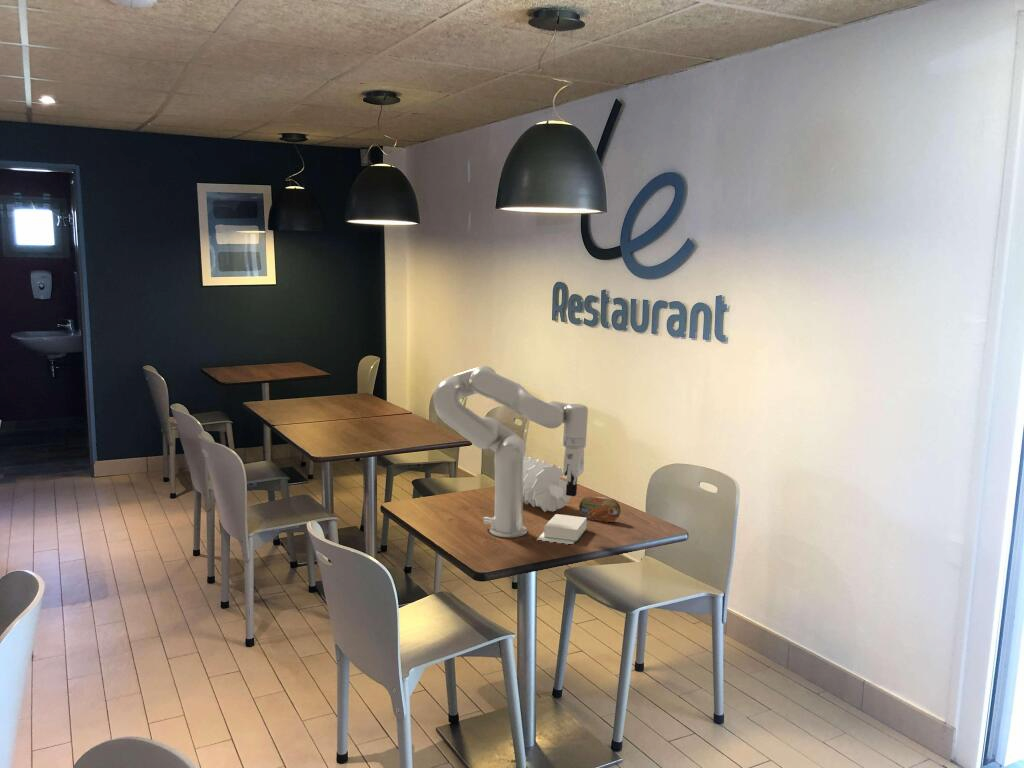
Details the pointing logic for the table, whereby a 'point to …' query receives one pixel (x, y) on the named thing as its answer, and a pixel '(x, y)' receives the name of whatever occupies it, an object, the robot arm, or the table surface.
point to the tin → (599, 508)
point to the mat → (554, 540)
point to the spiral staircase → (543, 485)
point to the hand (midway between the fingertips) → (571, 495)
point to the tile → (565, 527)
